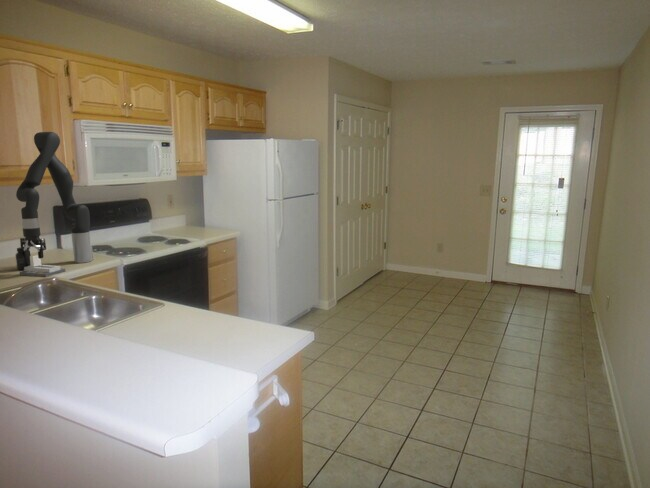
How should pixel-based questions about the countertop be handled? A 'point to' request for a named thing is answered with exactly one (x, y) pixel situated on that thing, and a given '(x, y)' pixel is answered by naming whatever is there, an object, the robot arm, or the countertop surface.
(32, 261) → the fader
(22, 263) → the supplement bottle
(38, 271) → the console
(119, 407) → the countertop surface
